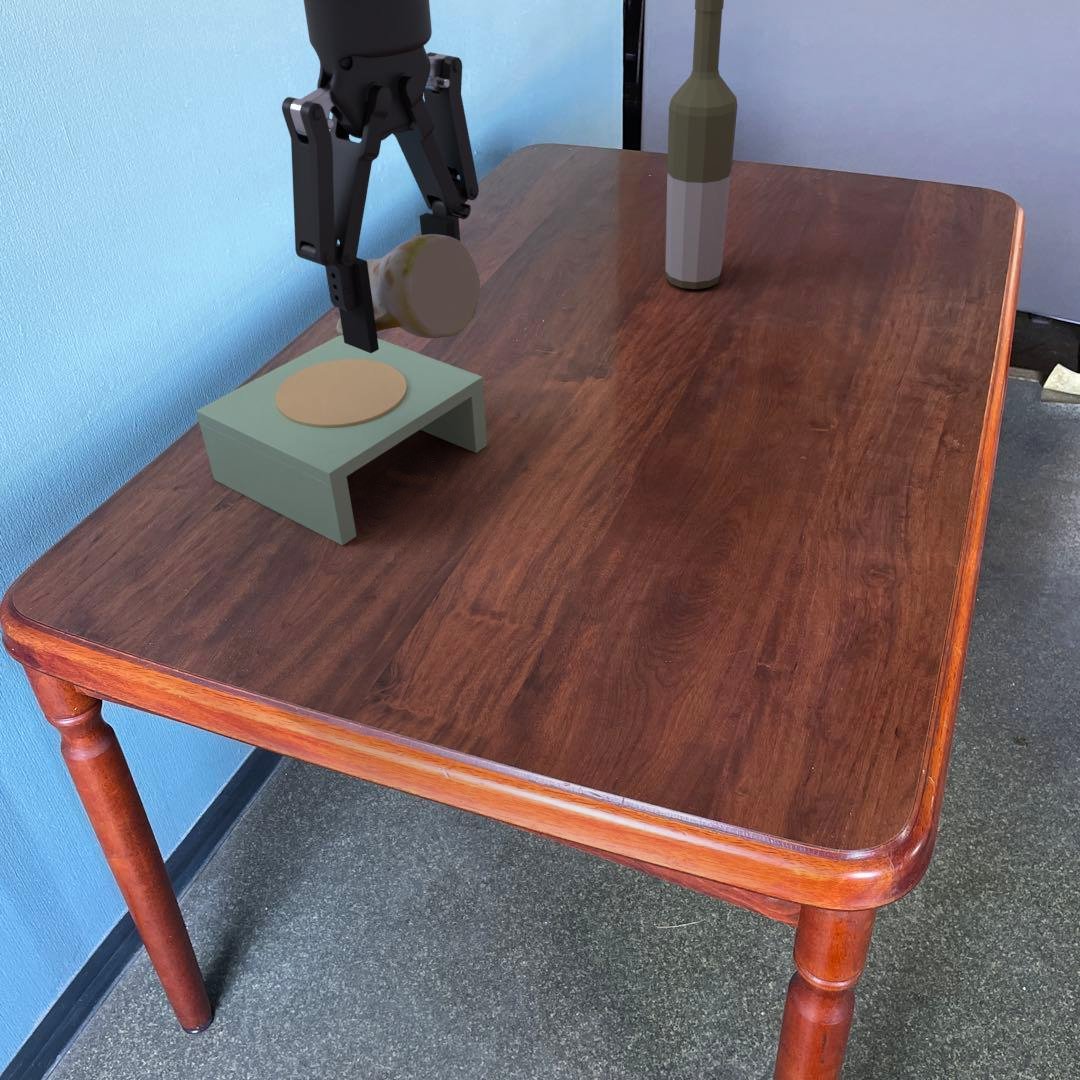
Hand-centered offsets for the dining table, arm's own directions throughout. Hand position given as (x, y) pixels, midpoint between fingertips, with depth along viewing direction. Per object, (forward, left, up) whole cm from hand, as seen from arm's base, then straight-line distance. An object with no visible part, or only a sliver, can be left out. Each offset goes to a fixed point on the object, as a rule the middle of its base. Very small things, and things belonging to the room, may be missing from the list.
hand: (404, 323), depth 78 cm
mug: (0, 0, 0) cm, 0 cm away
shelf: (-10, +2, -17) cm, 20 cm away
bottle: (-5, +51, -17) cm, 54 cm away
